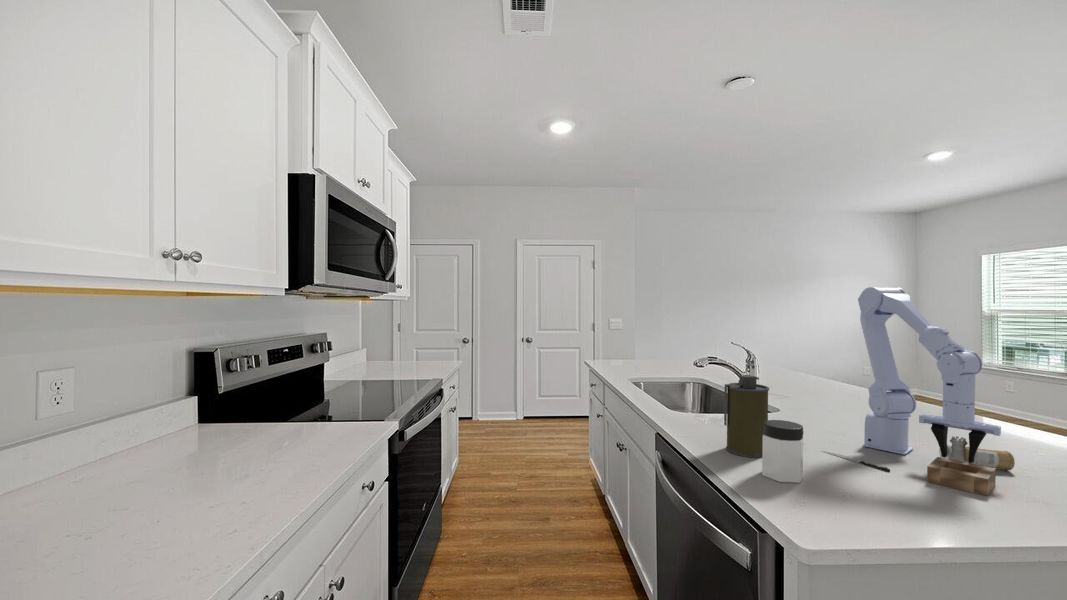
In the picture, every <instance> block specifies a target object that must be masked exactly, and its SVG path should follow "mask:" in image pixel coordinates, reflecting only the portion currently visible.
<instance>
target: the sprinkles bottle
mask: <svg viewBox="0 0 1067 600" xmlns="http://www.w3.org/2000/svg"><path fill="white" fill-rule="evenodd" d="M951 446H952V443H947V456H946V457H942V455H941V450H940V447H939V448H938V449H939V450H938V455H939V457H941V458H946V459H950V457H951V453H952V448H951ZM965 448H966V449H967V450H965V455H966V460H967V462H968V457H969V446H967V445H966V446H965ZM968 463H970V462H968ZM1015 463H1016V462H1015V458H1014V455H1013V454H1012V453H1011V451H1006V450H996V449H992V448H991V449H990V448H982V447H978V449H977V451H976V454H975V458H974V462H973V463H971V464H976V465H981V466H986V467H991V468H996V470H997V469H999V470H1005V471H1012V470H1013V469H1014V468H1015Z"/></svg>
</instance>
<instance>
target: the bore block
mask: <svg viewBox="0 0 1067 600" xmlns="http://www.w3.org/2000/svg"><path fill="white" fill-rule="evenodd" d="M926 470H927V471H926V473H927V476H926V482H927V481H928V483H931V482H932V483H931V484H936V485H941V486H945V487H948V488H953V489H956V490H960V491H965V492H969V493H974V494H978V495H982V496H987V497H989V495H990V494H991V492H992V490H993V488H994V487H995V486H996V476H997V475H996V472H997V471H996V470H997V468H991V467H986V466H981V465H976V464H971V463H966V462H961V461H956V460H951V459H946V458H941V457H940V456H936V458H935V459H934V460H932V461H931V462H930V463H929V464H928V465H927V468H926Z"/></svg>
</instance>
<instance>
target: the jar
mask: <svg viewBox="0 0 1067 600" xmlns="http://www.w3.org/2000/svg"><path fill="white" fill-rule="evenodd" d="M763 433H764V434H763V448H762V457H761V458H762V459H761V460H762V461H761V462H762V463H761V467H762V468H761V470H762V471H761V472H762V473H761V475H762V476H763V477H766V478H768V479H770V480H773V481H776V482H779V483H793V484H794V483H796V484H798V483H799V484H800V483H801V482H802V479H803V477H804V476H803V474H804V473H803V472H804V426H803V425H801V424H800V423H797V422H795V421H789V420H783V419H782V420H781V419H768V420H767V421H765V422H764V425H763Z"/></svg>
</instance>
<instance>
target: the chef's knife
mask: <svg viewBox="0 0 1067 600" xmlns="http://www.w3.org/2000/svg"><path fill="white" fill-rule="evenodd" d="M820 452H822V453H825V454H828V455H831V456H835V457H838V458H841V459H844V460H847V461H850V460H851V461H850V462H853V461H854V463H856V462H857V464H860V463H861V465H863V464H864V466H867V467H870V466H871V467H870V468H873V467H874V468H873V469H876V468H877V469H876V470H880V469H881V470H880V471H883V470H884V471H883V472H886V471H887V473H890V472H891V469H890V468H888V467H886V466H885V467H884V466H880V465H876V464H872V463H869V462H866V461H865V460H863V459H859V458H855V457H852V456H847V455H844V454H841V453H840V454H839V453H835V452H831V451H825V450H820ZM864 461H865V462H864Z"/></svg>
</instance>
